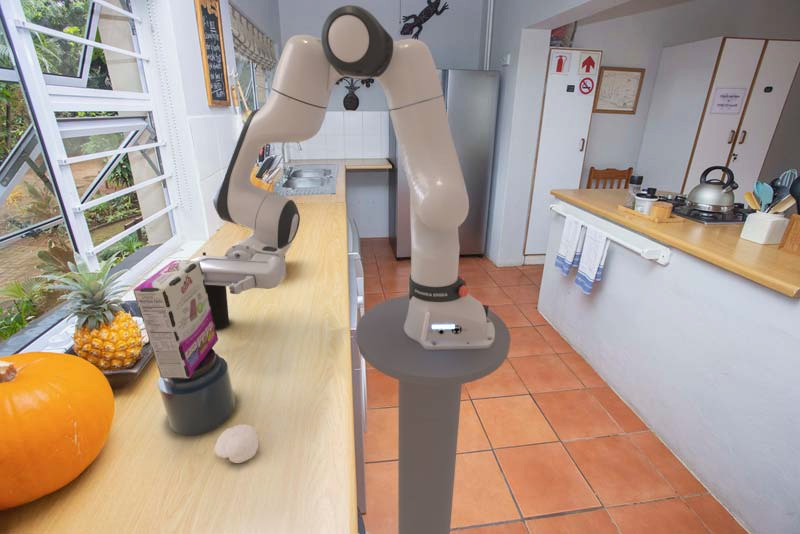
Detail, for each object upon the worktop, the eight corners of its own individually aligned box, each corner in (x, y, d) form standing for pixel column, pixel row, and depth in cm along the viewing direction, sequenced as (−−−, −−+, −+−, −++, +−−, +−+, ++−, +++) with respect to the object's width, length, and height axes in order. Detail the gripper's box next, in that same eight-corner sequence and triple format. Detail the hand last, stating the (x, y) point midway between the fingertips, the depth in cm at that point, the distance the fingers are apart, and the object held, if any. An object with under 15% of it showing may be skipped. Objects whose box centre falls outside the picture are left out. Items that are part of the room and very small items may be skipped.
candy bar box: (192, 340, 72) (172, 259, 66) (219, 340, 72) (201, 259, 66) (158, 380, 62) (130, 288, 56) (189, 380, 62) (165, 288, 56)
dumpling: (262, 438, 67) (262, 424, 65) (254, 467, 62) (254, 453, 60) (219, 435, 66) (218, 421, 63) (209, 465, 61) (207, 451, 59)
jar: (246, 395, 76) (236, 344, 71) (213, 439, 66) (199, 383, 61) (195, 389, 78) (182, 338, 73) (155, 431, 68) (137, 376, 63)
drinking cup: (215, 335, 95) (198, 261, 88) (196, 327, 99) (179, 254, 91) (241, 322, 101) (228, 251, 94) (222, 314, 105) (208, 245, 97)
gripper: (200, 244, 84) (154, 269, 71) (289, 249, 81) (258, 276, 69) (206, 271, 86) (162, 300, 74) (293, 277, 84) (263, 307, 71)
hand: (209, 288), depth 71 cm, fingers open, 8 cm apart
